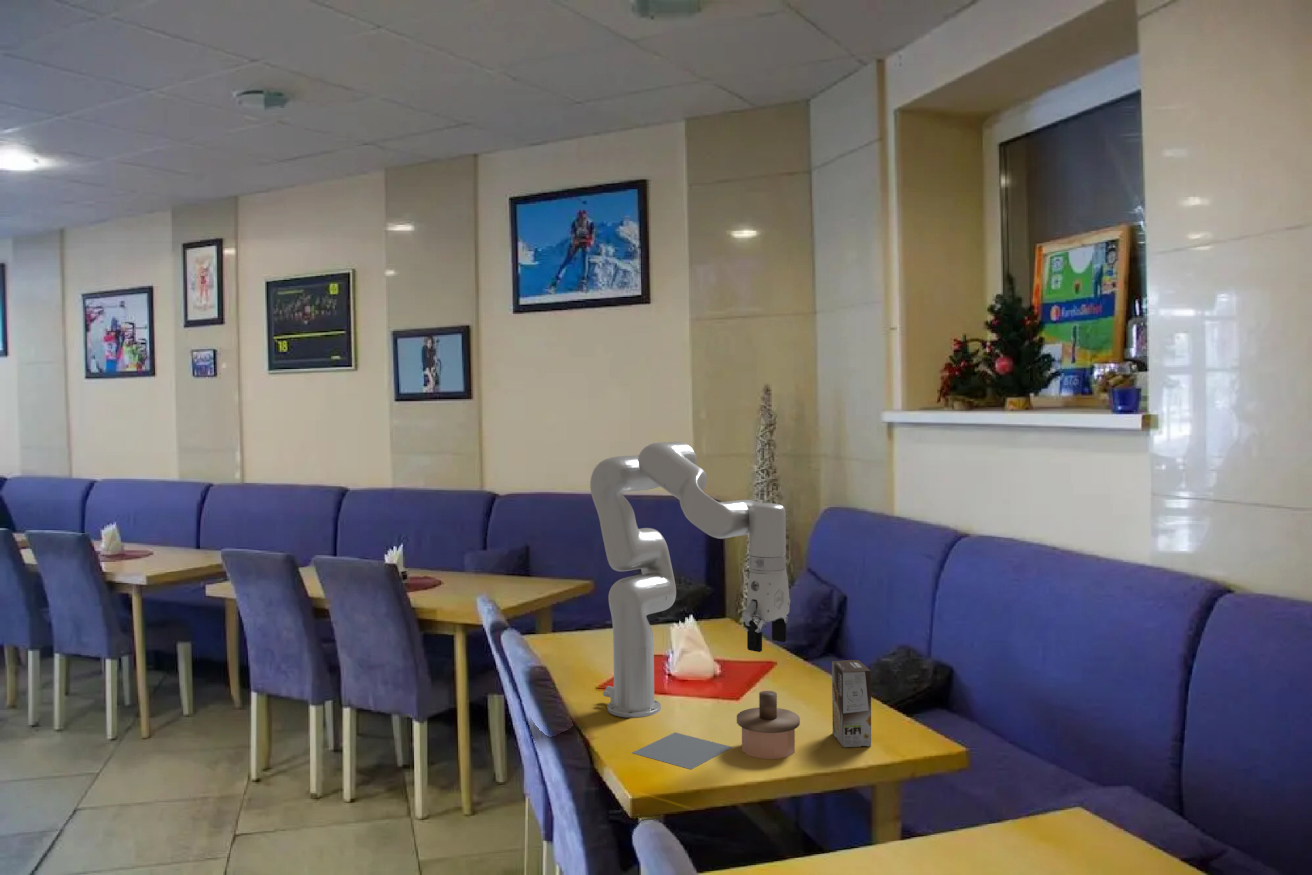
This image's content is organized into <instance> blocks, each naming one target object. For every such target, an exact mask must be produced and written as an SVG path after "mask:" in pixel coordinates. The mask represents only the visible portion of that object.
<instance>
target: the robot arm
mask: <svg viewBox="0 0 1312 875" xmlns="http://www.w3.org/2000/svg"><path fill="white" fill-rule="evenodd" d="M697 464H698V460H697V454H696V452H695V450H694V449H693V448H692V446H690V445H689V444H688V443H686V442H682V441H668V442H667V441H665V442H664V441H663V442H654V443H653V442H652V443H651V444H650V443H649V444H648V445H646V446H645V447H643V449H641V451H640V453H639V455H638V454H637V455H636V454H635V455H620V456H613V457H609V458H605V459H603V460H602V461H600V462H599V463H598V464H596V466H595V467H594V469H593V471H592V473H591V475H590V476H591V477H590V483H589V484H590V487H589V488H590V494H591V497H592V501H593V504H594V506H595V509H596V512H597V515H598V519H599V524H600V530H601V535H602V540H603V545H604V550H605V554H606V560H607V562H608V565H609V566H610V568H611V569H612V570H614V571H615V572H628V571H635V570H641V574H636V575H631V576H627V577H622V578H621V579H618V580H617V581H615V582H614V583H613V585H611V587H610V589H609V592H608V599H607V600H608V606H609V610H610V614H611V621H612V636H613V637H612V642H613V686H611V685H606V687H605V689H604V690H603V692H602V695H603V696H604V697H607V698H610V702H609V703H608V704H607V712H608V713H609V714H611V715H613V716H615V717H619V718H628V719H632V718H644V717H650V716H654V715H655V714H658V713H659V712H660V711H661V709H662V704H661V702H659V701H658V700H657V699H655V645H654V644H655V643H654V642H655V640H654V639H655V638H654V631H653V628H652V626H651V624H650V622H649V620H648V618H647V616H648V615H652V614H656V613H661V612H663V611H666V610H668V609H670V608H671V607H672V606H673V605H674V603H675V601H676V597H677V587H676V581H675V580H676V579H675V576H674V570H673V566H672V561H671V560H672V559H671V557H670V551H669V547H668V544H667V541H666V540H665V538H664V536H663V535H662V533H661V532H660V531H658V530H657V529H655V528H651V527H643V528H639V527H638V524H637V521H636V515H635V511H634V509H633V506H632V505H631V503H630V501H628V499H627V498H626V497H625V495H624V493H627V492H637V491H638V492H639V491H648V490H653V489H658V488H660V487H661V488H663V490H665V491H666V492H668V493H669V494H670V495H672V496H673V497H674V498H676V499H678V500H679V505H680V508H681V510H682V512H683V514H684V517H685V518H686V519H687V520H688V521H689V522H690V523H691V524H692V525H694V526H695V527H696V528H697V529H699V530H701V531H702V532H703V533H704V534H706V535H708V536H710V537H712V538H715V539H721V540H723V539H728V538H729V539H730V538H733V537H741V536H748V571H749V574H748V583H747V593H746V594H747V595H746V607H745V609H744V610H743V611H742V618H743V625H744V626H745V632H747V633H746V634H747V635H746V636H747V638H746V642H747V643H746V644H747V650H748V651H751V652H755V653H756V652H757V653H761V652H762V651H763V632H762V631H761V630H762V627H763V624H764V622H766V623H770V622H771V640H772V641H774V642H781V643H785V642H787V623H788V620H789V618H788V615H789V613H790V605H791V598H790V588H789V578H788V573H787V568H786V567H787V566H786V564H787V563H786V560H787V559H786V555H787V554H786V553H787V552H786V551H787V550H786V549H787V548H786V547H787V546H786V538H787V537H786V536H787V535H786V534H787V533H786V532H787V528H786V526H787V525H786V521H787V520H786V517H787V516H786V515H787V513H786V508H785V506H783V505H782V504H779V503H773V502H772V503H770V502H769V503H768V502H767V503H766V502H765V503H764V502H760V501H756V500H752V499H739V500H735V499H734V500H729V501H728V500H727V501H721V502H719V501H717V500H716V499H714V498H712V497H711V496H710V495H708V494H707V493H705V492H704V490H705V489H706V486H707V482H708V481H707V480H708V476H707V474H706V471H705V470H704V469H703V468H701V467H700V466H698V465H697Z"/></svg>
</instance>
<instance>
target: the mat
mask: <svg viewBox="0 0 1312 875" xmlns="http://www.w3.org/2000/svg"><path fill="white" fill-rule="evenodd" d="M732 748H733V746H730V745H726V744H722V743H718V742H716V741H715V742H714V741H710V740H706V739H703V738H699V737H694V736H691V735H688V734H687V735H686V734H682V733H678V732H673V733H671V734H668V735H666V736H664V737H662V738H661V739H658V740H656V741H654V742H652V743H651V742H650V743H649V744H647V745H645V746H643V747H641V748H639V749H637V750H635V751H632V752H631V754H633V755H634V754H635V755H637V756H641V757H645V758H649V759H653V760H655V761H659V762H662V763H666V764H670V765H673V766H677V767H680V768H684V769H687V770H694V769H695V768H697V767H699V766H700V765H702V764H704V763H707V762H708V761H710V760H712V759H714V758H716V757H717V756H719V755H721V754H723V753H725V752H726V751H727V752H728V750H730V749H732Z"/></svg>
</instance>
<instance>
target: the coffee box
mask: <svg viewBox="0 0 1312 875" xmlns="http://www.w3.org/2000/svg"><path fill="white" fill-rule="evenodd" d="M831 687H832V688H831V689H832V690H831V691H832V700H831V701H832V734H833V736H834V737H835V739H836V738H837V739H836V740H837V742H839V744H840V745H841V746H842V747H843V748H858V747H859V748H861V746H867V747H871V746H872V671H871V670H870V668H868V667H867V666H866V665H865V664H864V663H863V662H862V661H861V660H859V659H848V660H847V659H846V660H832V661H831Z"/></svg>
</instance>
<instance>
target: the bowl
mask: <svg viewBox="0 0 1312 875" xmlns="http://www.w3.org/2000/svg"><path fill="white" fill-rule="evenodd" d="M795 734H796V732H795V729H793V730H791V731H786V732H780V733H763V732H755V731H751V730H747V729H744V728H742V727H741V751H742V752H743V753H744V754H745V755H746V756H747V755H748V756H750V757H753V758H757V759H762V760H763V759H767V760H768V759H769V760H777V759H783V758H788V757H790V756H791V755H793V754H795V752H796V749H795V748H796V747H795V746H796V744H795V742H796V741H795V740H796V739H795V737H796V735H795Z"/></svg>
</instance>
